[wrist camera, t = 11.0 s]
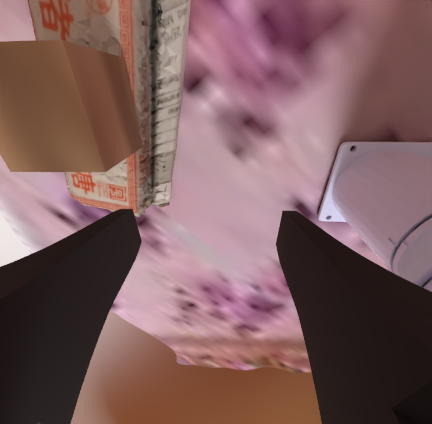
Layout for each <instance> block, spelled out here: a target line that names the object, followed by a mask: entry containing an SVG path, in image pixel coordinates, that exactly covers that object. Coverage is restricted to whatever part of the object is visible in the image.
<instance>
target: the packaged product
mask: <svg viewBox="0 0 432 424" xmlns="http://www.w3.org/2000/svg"><path fill="white" fill-rule="evenodd" d="M28 4H29V9H30V13H31V17H32V22H33V27H34V33H35V37H36V41H41V40H65V41H68V42H71V43H75V44H78V45H82V46H85V47H89V48H92V49H95V50H99V51H102V52H106V53H109V54H113V55H116V56H119V57H123V58H125V62H126V67H127V72H128V77H129V82H130V86H131V91H132V96H133V101H134V106H135V111H136V115H137V120H138V125H139V130H140V135H141V140H142V144H143V147H142V148H141V149H139V150H138V151H136V152H135V153H133V154H132V155H130V156H129V157H127V158H126V159H124V160H123V161H122V162H120V163H119V164H117V165H116V166H114V167H113V168H111V169H110V170H108V171H107V172H65V177H66V181H67V186H68V190H69V193H70V195H71V197H72V198H74V199H76V200H77V201H80V203H81V204H83V205H85V206H94V207H98V208H104V209H109V210H110V211H116V210H119V209H133V212H134V215H135V216H138V217H139V216H141V214H142V213H145V209H146V208H148V207H149V206H150V205H156V206H160V207H164V206H167V205H169V203H170V199H171V191H172V174H173V168H174V161H175V154H176V147H177V135H178V127H179V118H180V110H181V101H182V92H183V79H184V69H185V60H186V51H187V39H188V28H189V16H190V5H191V0H28Z"/></svg>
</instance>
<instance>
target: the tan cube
mask: <svg viewBox="0 0 432 424" xmlns="http://www.w3.org/2000/svg"><path fill="white" fill-rule="evenodd" d="M142 147H143V144H142V140H141V135H140V130H139V125H138V120H137V115H136V111H135V106H134V101H133V96H132V91H131V86H130V82H129V77H128V72H127V67H126V62H125V58H123V57H119V56H116V55H113V54H109V53H106V52H102V51H99V50H95V49H92V48H89V47H85V46H82V45H78V44H75V43H71V42H68V41H65V40H41V41H9V42H0V154H1V156H2V158H3V160H4V161H5V163H6V165H7V166H8V168H9V170H10V171H11V172H107V171H108V170H110V169H111V168H113V167H114V166H116V165H117V164H119V163H120V162H122V161H123V160H124V159H126V158H127V157H129V156H130V155H132V154H133V153H135V152H136V151H138V150H139V149H141V148H142Z"/></svg>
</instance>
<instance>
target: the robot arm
mask: <svg viewBox="0 0 432 424" xmlns="http://www.w3.org/2000/svg"><path fill="white" fill-rule="evenodd" d="M352 146H354V149H353V150H351V151H350V148H351V147H352ZM329 215H330V216H329ZM327 216H329V217H327ZM326 217H327V218H326ZM318 219H319V220H320V221H336V222H348V223H349V225H350V226H351V227H352V228H353V229H354V230H355V231H356V233H357V234H358V235H359V236H360V237H361V238H362V239H363V240H364V242H365V243H366V244H367V245H368V246H369V247H370V248H371V249H372V251H373V252H374V253H375V254H376V255H377V256H378V257H379V258H380V260H381V261H382V262H383V263H384V264H385V265H386V266H387V267H388V269H389V270H390V271H391V272H390V271H388V270H386V269H384V268H383V267H381V266H379V265H377V264H375V263H374V262H372V261H370V260H368V259H367V258H365V257H363V256H361V255H360V254H358V253H356V252H355V251H353V250H352V249H350V248H349V247H347V246H345V245H344V244H342V243H341V242H339V241H338V240H336V239H335V238H333V237H332V236H331V235H329V234H328V233H326V232H325V231H324V230H322V229H321V228H319V227H318V226H317V225H315V224H314V223H313V222H311V221H310V220H308V219H307V218H306V217H304V216H303V215H302V214H300V213H298V212H297V211H283V212H282V217H281V222H280V227H279V232H278V237H277V242H276V246H277V251H278V256H279V261H280V264H281V267H282V270H283V273H284V276H285V278H286V281H287V284H288V287H289V290H290V292H291V295H292V298H293V301H294V303H295V306H296V309H297V313H298V316H299V320H300V324H301V328H302V332H303V336H304V340H305V344H306V348H307V353H308V357H309V361H310V366H311V370H312V375H313V380H314V384H315V390H316V394H317V399H318V404H319V410H320V415H321V421H322V424H432V142H344V143H342V144H341V145H340V147H339V150H338V153H337V157H336V160H335V163H334V166H333V169H332V172H331V175H330V178H329V182H328V185H327V188H326V191H325V194H324V197H323V200H322V204H321V207H320V210H319V213H318ZM141 242H142V241H141V237H140V234H139V230H138V226H137V223H136V219H135V215H134V212H133V209H119V210H116V211H114V212H112V213H110V214H108V215H106V216H105V217H103V218H101V219H99V220H97V221H96V222H94V223H92V224H90V225H88V226H87V227H85V228H83V229H81V230H79V231H77V232H76V233H74V234H72V235H70V236H68V237H66V238H64V239H62V240H60V241H58V242H56V243H54V244H52V245H50V246H48V247H46V248H44V249H42V250H40V251H37V252H35V253H33V254H31V255H29V256H26V257H24V258H21V259H19V260H17V261H14V262H12V263H10V264H7V265H4V266H2V267H0V424H70V423H71V420H72V417H73V413H74V410H75V407H76V403H77V399H78V397H79V393H80V390H81V387H82V384H83V381H84V378H85V375H86V372H87V369H88V366H89V363H90V360H91V357H92V355H93V352H94V349H95V347H96V344H97V341H98V338H99V335H100V333H101V330H102V328H103V325H104V323H105V320H106V318H107V315H108V313H109V311H110V308H111V306H112V304H113V302H114V300H115V298H116V296H117V294H118V292H119V290H120V288H121V287H122V285H123V283H124V281H125V279H126V277H127V275H128V273H129V271H130V269H131V267H132V265H133V263H134V261H135V259H136V256H137V254H138V251H139V248H140V245H141Z"/></svg>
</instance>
